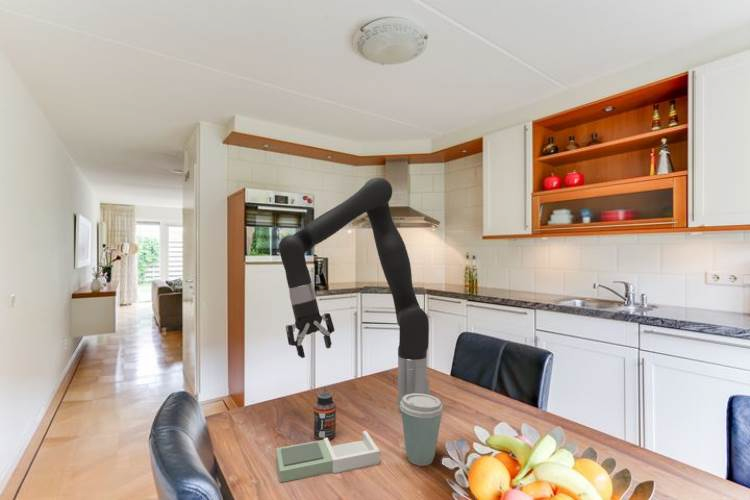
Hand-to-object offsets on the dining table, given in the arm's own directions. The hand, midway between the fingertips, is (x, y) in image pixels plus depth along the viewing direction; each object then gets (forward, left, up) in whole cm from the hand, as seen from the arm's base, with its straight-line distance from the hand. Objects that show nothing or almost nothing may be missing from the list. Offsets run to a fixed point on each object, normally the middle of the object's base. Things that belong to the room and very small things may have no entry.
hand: (315, 352), depth 111 cm
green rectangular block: (+7, +22, -20) cm, 31 cm away
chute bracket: (-4, +22, -20) cm, 30 cm away
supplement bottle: (0, +11, -20) cm, 23 cm away
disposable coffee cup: (-20, +30, -20) cm, 41 cm away
